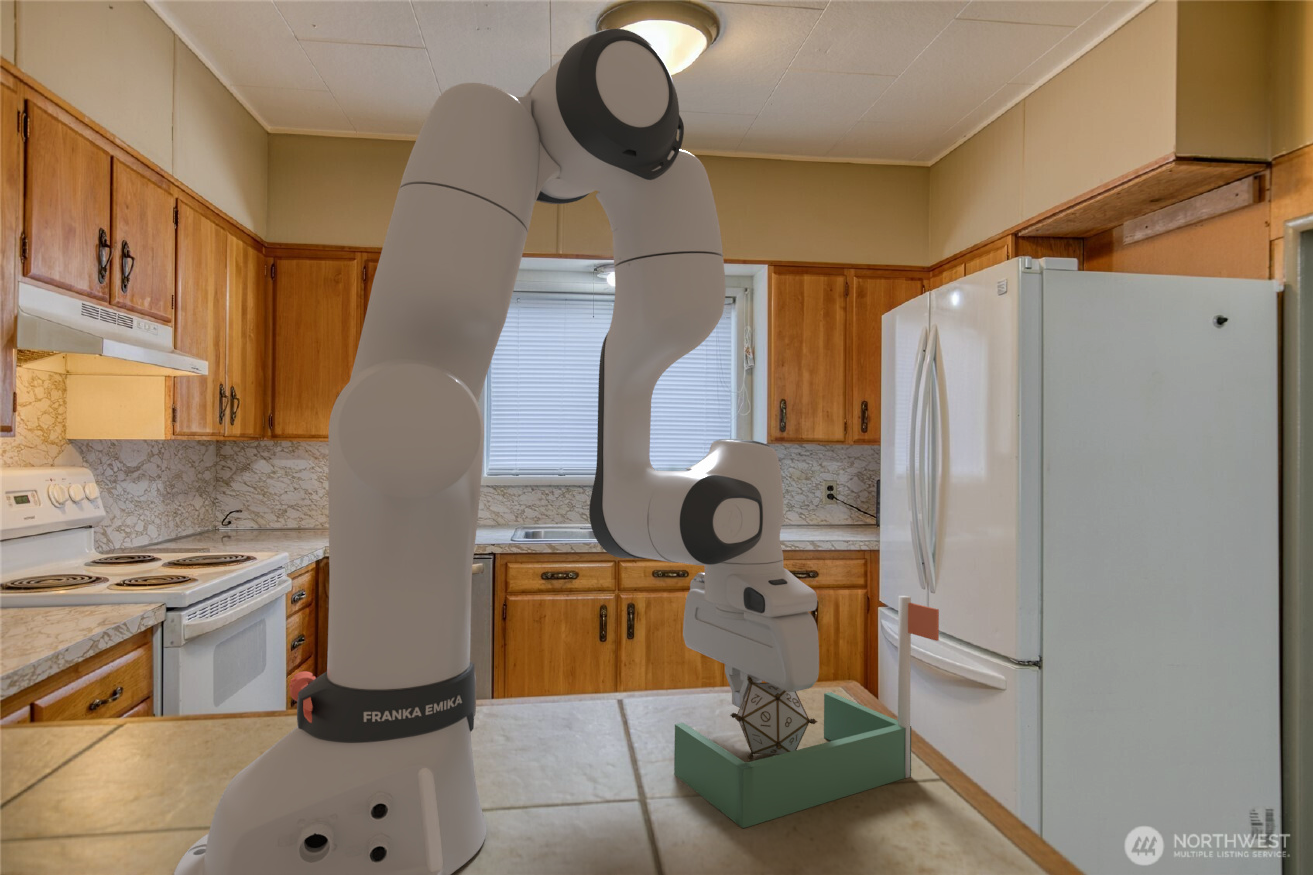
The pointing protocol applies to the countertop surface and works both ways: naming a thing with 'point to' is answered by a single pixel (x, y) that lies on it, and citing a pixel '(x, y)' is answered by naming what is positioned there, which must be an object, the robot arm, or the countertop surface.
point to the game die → (771, 719)
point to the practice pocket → (813, 749)
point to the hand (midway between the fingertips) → (743, 707)
